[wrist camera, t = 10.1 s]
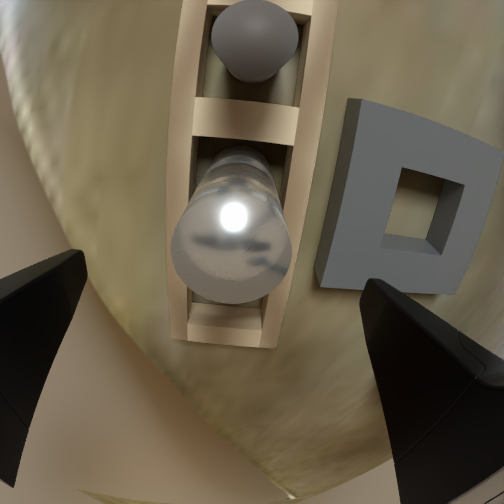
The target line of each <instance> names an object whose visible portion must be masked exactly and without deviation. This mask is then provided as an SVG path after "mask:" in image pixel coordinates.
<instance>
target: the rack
mask: <svg viewBox="0 0 504 504" xmlns="http://www.w3.org/2000/svg"><path fill="white" fill-rule="evenodd" d="M337 4H338V0H183V5H182V11H181V17H180V24H179V31H178V38H177V46H176V54H175V62H174V71H173V81H172V91H171V103H170V116H169V132H168V151H167V178H166V256H167V284H168V303H169V319H170V333H171V339H178V340H186V341H194V342H203V343H212V344H223V345H234V346H246V347H260V348H276V346H277V342H278V338H279V334H280V329H281V325H282V321H283V317H284V312H285V308H286V304H287V299H288V295H289V291H290V286H291V282H292V277H293V272H294V268H295V263H296V259H297V254H298V249H299V244H300V239H301V234H302V230H303V225H304V220H305V214H306V209H307V204H308V199H309V194H310V188H311V183H312V177H313V172H314V166H315V161H316V155H317V149H318V143H319V137H320V131H321V125H322V118H323V112H324V106H325V99H326V92H327V85H328V78H329V71H330V64H331V56H332V48H333V40H334V32H335V23H336V14H337ZM212 16H218V17H217V19H216V21H215V22H214V25H213V28H212V33H211V40H212V45H213V48H214V51H215V53H216V54H217V56H218V57H219V59H220V60H221V61H222V62H223V64H224V65H225V66H226V68H227V69H228V70H229V72H230V73H231V74H232V75H233V76H234V77H235V78H236V79H238V80H240V81H242V82H245V83H261V82H264V81H266V80H268V79H270V78H271V77H272V76H273V75H274V74H275V73H276V72H277V71H278V70H279V69H280V68H282V67H283V66H284V65H285V64H286V63H287V62H288V61H289V60H290V59H291V57H292V56H293V54H294V53H295V51H296V48H297V45H298V30H297V26H296V24H298V25H303V26H304V27H303V35H302V43H301V50H300V58H299V66H298V73H297V80H296V88H295V95H294V102H293V107H292V106H286V105H279V104H271V103H264V102H255V101H246V100H235V99H223V98H208V97H202V96H203V87H204V77H205V69H206V60H207V52H208V44H209V37H210V30H211V23H212ZM199 136H208V137H221V138H233V139H243V140H252V141H261V142H269V143H277V144H285V145H287V151H286V157H285V164H284V171H283V177H282V184H281V190H280V197H279V200H280V203H281V207H282V211H283V214H284V218H285V222H286V225H287V229H288V233H289V237H290V241H291V246H292V257H291V263H290V266H289V269H288V272H287V274H286V276H285V277H284V279H283V280H282V281H281V283H280V284H279V285H278V286H277V287H276V288H275V289H274V290H273V291H271V292H270V293H268V294H267V295H265V296H263V301H262V306H261V309H257V308H246V307H234V306H224V305H214V304H204V303H195V302H192V290H191V289H190V288H189V287H187V285H186V284H185V283H184V282H183V281H182V280H181V278H180V277H179V276H178V274H177V272H176V270H175V268H174V265H173V263H172V258H171V250H170V249H171V240H172V235H173V233H174V230H175V228H176V226H177V224H178V222H179V220H180V218H181V216H182V214H183V212H184V211H185V209H186V207H187V205H188V203H189V201H190V199H191V198H192V196H193V194H194V192H195V186H196V170H197V155H198V141H199Z"/></svg>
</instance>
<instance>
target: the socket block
mask: <svg viewBox="0 0 504 504" xmlns="http://www.w3.org/2000/svg"><path fill="white" fill-rule="evenodd" d="M503 157H504V152H502V151H501V150H499V149H497V148H494V147H492V146H490V145H488V144H486V143H484V142H482V141H480V140H478V139H475V138H473V137H471V136H469V135H466V134H464V133H462V132H459V131H457V130H454V129H452V128H449V127H447V126H444V125H442V124H439V123H436V122H434V121H431V120H428V119H426V118H423V117H420V116H417V115H414V114H411V113H408V112H405V111H402V110H399V109H395V108H392V107H389V106H385V105H382V104H378V103H375V102H371V101H367V100H363V99H352V98H348V101H347V107H346V114H345V120H344V126H343V131H342V137H341V143H340V148H339V153H338V159H337V164H336V169H335V174H334V179H333V184H332V189H331V194H330V199H329V203H328V208H327V213H326V217H325V222H324V226H323V230H322V235H321V239H320V243H319V247H318V252H317V256H316V260H315V264H314V270H315V272H316V275H317V278H318V281H319V284H320V287H328V288H342V289H356V290H364V287H365V284H366V282H367V280H368V279H369V278H379V279H382V280H383V281H385V282H386V283H388V284H390V285H391V286H393V287H394V288H396V289H397V290H399V291H400V292H407V293H427V294H449V295H455V293H456V291H457V289H458V287H459V285H460V282H461V280H462V278H463V276H464V274H465V271H466V269H467V267H468V264H469V262H470V260H471V257H472V255H473V252H474V250H475V247H476V245H477V242H478V240H479V237H480V234H481V232H482V229H483V226H484V223H485V220H486V217H487V215H488V211H489V208H490V205H491V202H492V199H493V195H494V192H495V189H496V185H497V181H498V178H499V174H500V170H501V166H502V162H503ZM402 167H404V168H408V169H412V170H416V171H419V172H423V173H427V174H430V175H434V176H437V177H441V178H444V179H445V180H444V184H443V187H442V191H441V194H440V198H439V201H438V205H437V208H436V211H435V214H434V217H433V221H432V224H431V227H430V230H429V233H428V235H427V238H426V240H423V239H417V238H410V237H403V236H397V235H390V234H384V232H385V228H386V225H387V222H388V218H389V215H390V211H391V208H392V204H393V200H394V197H395V193H396V189H397V185H398V181H399V177H400V173H401V169H402Z"/></svg>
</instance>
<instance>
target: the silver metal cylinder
mask: <svg viewBox="0 0 504 504" xmlns="http://www.w3.org/2000/svg"><path fill="white" fill-rule="evenodd" d="M170 250H171V258H172V263H173V265H174V268H175V270H176V272H177V274H178V276H179V277H180V278H181V280H182V281H183V282H184V283H185V284H186V285H187V287H189V288H190V289H191V290H192V291H194V292H195V293H197V294H198V295H200V296H202V297H204V298H206V299H209V300H211V301H215V302H219V303H226V304H240V303H246V302H250V301H254V300H257V299H259V298H261V297H263V296H265V295H267V294H268V293H270V292H271V291H273V290H274V289H275V288H276V287H277V286H278V285H279V284H280V283H281V281H282V280H283V279H284V277H285V276H286V274H287V272H288V269H289V266H290V263H291V257H292V246H291V241H290V237H289V233H288V229H287V225H286V222H285V218H284V214H283V211H282V207H281V203H280V200H279V196H278V193H277V189H276V186H275V182H274V178H273V175H272V171H271V168H270V165H269V163H268V161H267V160H266V158H265V157H264V156H263V155H262V154H261V153H260V152H258V151H257V150H255V149H253V148H250V147H247V146H233V147H229V148H226V149H224V150H223V151H221V152H220V153H218V154H217V155H216V156H215V158H214V159H213V160H212V162H211V164H210V165H209V167H208V169H207V171H206V172H205V174H204V176H203V178H202V180H201V181H200V183H199V185H198V187H197V188H196V190H195V192H194V194H193V196H192V198H191V199H190V201H189V203H188V205H187V207H186V209H185V211H184V212H183V214H182V216H181V218H180V220H179V222H178V224H177V226H176V228H175V230H174V233H173V235H172V240H171V249H170Z"/></svg>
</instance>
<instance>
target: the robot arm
mask: <svg viewBox="0 0 504 504" xmlns="http://www.w3.org/2000/svg"><path fill="white" fill-rule="evenodd" d="M87 276H88V274H87V267H86V261H85V256H84V253H83V251H82V250H77V249H70V250H68V251H65V252H63V253H60V254H58V255H55V256H53V257H50V258H48V259H46V260H43V261H41V262H38V263H36V264H34V265H31V266H29V267H27V268H25V269H22V270H20V271H18V272H15V273H13V274H11V275H9V276H7V277H5V278H2V279H0V481H2V482H3V483H5V484H7V485H8V486H10V487H12V488H14V485H15V481H16V476H17V472H18V468H19V464H20V460H21V456H22V452H23V448H24V445H25V441H26V438H27V434H28V431H29V429H28V428H29V427H30V424H31V421H32V418H33V415H34V412H35V409H36V406H37V403H38V400H39V397H40V395H41V392H42V389H43V386H44V384H45V381H46V378H47V376H48V373H49V371H50V368H51V366H52V363H53V361H54V358H55V356H56V354H57V351H58V349H59V346H60V344H61V342H62V340H63V338H64V335H65V333H66V331H67V329H68V327H69V325H70V322H71V320H72V318H73V315H74V313H75V310H76V307H77V304H78V302H79V299H80V296H81V294H82V291H83V288H84V286H85V283H86V281H87ZM359 306H360V312H361V317H362V323H363V329H364V334H365V340H366V345H367V349H368V353H369V357H370V360H371V364H372V368H373V371H374V375H375V379H376V383H377V387H378V391H379V395H380V399H381V403H382V408H383V412H384V416H385V421H386V425H387V430H388V435H389V439H390V444H391V449H392V454H393V460H394V463H395V464H394V466H395V471H396V477H397V483H398V490H399V496H400V502H401V504H504V360H503V359H501V358H500V357H498V356H496V355H495V354H493V353H492V352H490V351H488V350H487V349H485V348H484V347H482V346H481V345H479V344H478V343H476V342H475V341H473V340H472V339H470V338H469V337H467V336H466V335H464V334H463V333H462V332H460V331H458V330H457V329H456V328H454V327H453V326H451V325H450V324H448V323H447V322H446V321H444V320H443V319H441V318H440V317H438V316H437V315H435V314H434V313H432V312H431V311H429V310H428V309H426V308H425V307H423V306H422V305H420V304H419V303H417V302H416V301H414V300H413V299H411V298H410V297H408V296H407V295H405V294H404V293H402V292H400V291H399V290H397V289H396V288H394V287H393V286H391V285H390V284H388V283H386V282H385V281H383V280H382V279H379V278H369V279H368V280H367V282H366V284H365V287H364V290H363V292H362V295H361V298H360V302H359Z"/></svg>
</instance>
